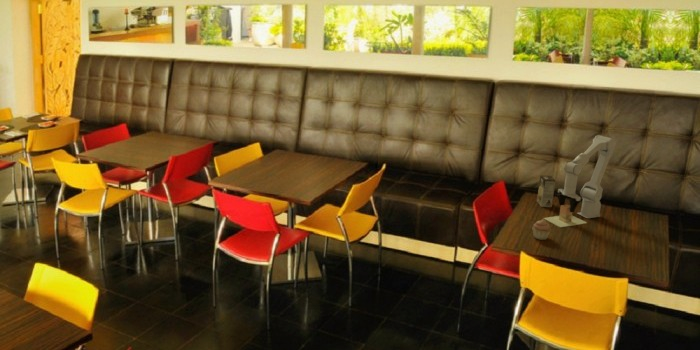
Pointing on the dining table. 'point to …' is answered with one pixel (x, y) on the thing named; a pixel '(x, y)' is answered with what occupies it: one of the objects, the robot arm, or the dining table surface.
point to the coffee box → (546, 191)
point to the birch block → (565, 217)
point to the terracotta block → (565, 209)
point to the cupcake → (541, 230)
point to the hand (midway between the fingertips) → (566, 209)
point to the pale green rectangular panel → (560, 223)
